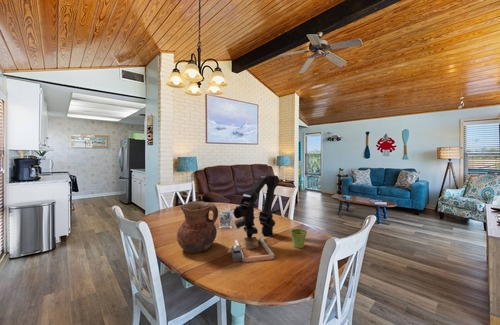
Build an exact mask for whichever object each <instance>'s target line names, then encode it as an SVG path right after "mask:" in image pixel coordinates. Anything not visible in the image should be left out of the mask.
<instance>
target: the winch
mask: <svg viewBox="0 0 500 325" xmlns="http://www.w3.org/2000/svg"><path fill="white" fill-rule="evenodd" d="M242 249H243V248H242V245H240V244H239V246H236V245H232V246H231V247H230V250H228V251H227V254H232V255H231V257H232V262H242V259H241V250H242Z"/></svg>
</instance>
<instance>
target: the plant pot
mask: <svg viewBox="0 0 500 325" xmlns="http://www.w3.org/2000/svg"><path fill="white" fill-rule="evenodd" d="M290 234H291V237H292V246H293V247H294V248H298V249H303V248H304V247H305V244H306V236H307V234H308V231H307V230H306V229H302V228H292V229H290Z"/></svg>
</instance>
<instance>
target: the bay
mask: <svg viewBox="0 0 500 325" xmlns="http://www.w3.org/2000/svg"><path fill="white" fill-rule="evenodd" d="M259 242H260V244H261V245H262V247H263V248H264V250H265V251H266V252H267V254H263V255H253V256H245V255H244V252H243V251H242V250H241V262H242V263H249V262H250V263H251V262H259V261H266V260H273V259H274V260H275V254H274V253H273V251H272V250H271V248H270V247H269V245H267V243H266V242H265V240H264V239H263V237H259ZM234 245H235V246H239V245H240V244H239V241H238V239H235V240H234Z"/></svg>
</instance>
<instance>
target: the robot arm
mask: <svg viewBox="0 0 500 325" xmlns="http://www.w3.org/2000/svg"><path fill="white" fill-rule="evenodd" d="M279 182H280V177H279V176H278V175H273V174H267V175H264V174H263V175H261V176H260V178H259V179H258V181H256V183H255V184H254V186H252V188H251V189H249V190H246V191H245V193H244V194H243V195H242V196H241V197H242V198H241V200H240V201H239V204H238V205H236V206H235V208H234V209H233V213H232V214H233V216H234V218H235V219H238V220H235V221H234V225H235V227H236V229H237V230H238V229H240V228H241V227H242V229H243V230H244V232H245V233H246V238H248V237H253V235H258V232H259V229H258V228H257V227H256V226H255V215H254V214H255V207H256V206H257V204H255V203H256V201H257V200H258V195H259V193H260V192H261V190H262V189H263V188H264V186H266V195H265V200H264V206H263V209H262V210H261V211H260V212H259V216H258V220H259V224H260V225H261V234H262V235H263V237H270V236H275V235H274V233H273V232H274V226H275V225H276V221H275V220H274V218H273V217H274V216H273V213H272V209H273V208H272V207H273V201H274V195H275V190H276V189H277V187H278V185H279Z"/></svg>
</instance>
